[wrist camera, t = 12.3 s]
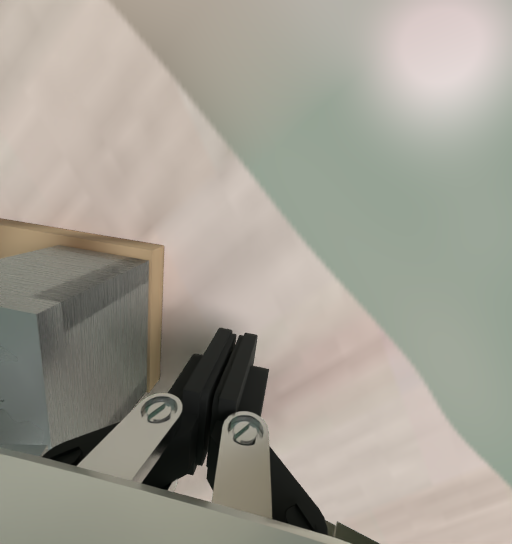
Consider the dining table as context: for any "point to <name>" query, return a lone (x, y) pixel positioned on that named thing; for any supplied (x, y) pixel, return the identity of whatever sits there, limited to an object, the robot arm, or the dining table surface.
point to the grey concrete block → (70, 342)
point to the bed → (29, 237)
